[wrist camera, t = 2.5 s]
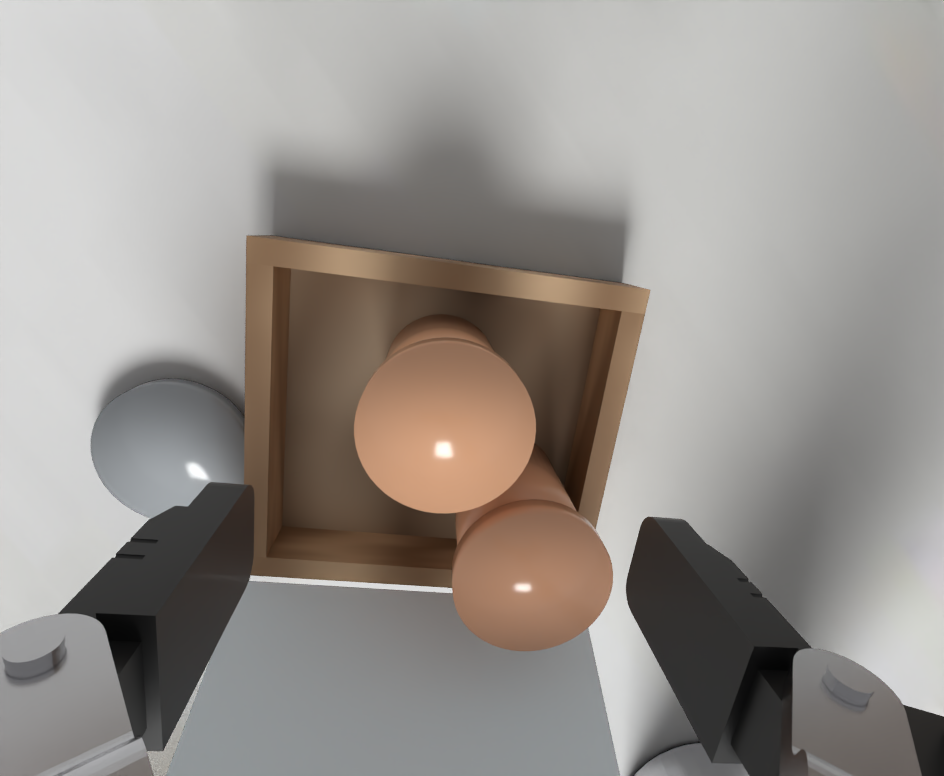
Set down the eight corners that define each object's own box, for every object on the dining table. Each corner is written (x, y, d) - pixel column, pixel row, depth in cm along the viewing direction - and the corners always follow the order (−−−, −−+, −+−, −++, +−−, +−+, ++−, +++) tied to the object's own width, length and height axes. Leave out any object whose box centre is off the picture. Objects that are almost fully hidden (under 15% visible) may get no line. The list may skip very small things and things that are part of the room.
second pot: (568, 434, 25) (628, 520, 18) (548, 535, 27) (595, 654, 19) (453, 422, 25) (463, 507, 17) (439, 527, 26) (443, 647, 19)
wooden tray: (622, 282, 24) (650, 290, 21) (563, 556, 28) (580, 595, 25) (271, 235, 22) (246, 235, 19) (265, 535, 26) (243, 574, 23)
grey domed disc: (257, 386, 24) (250, 393, 23) (255, 517, 26) (248, 528, 25) (99, 370, 23) (84, 376, 22) (108, 506, 25) (96, 517, 24)
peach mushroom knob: (511, 315, 23) (550, 355, 16) (493, 432, 25) (520, 519, 17) (384, 299, 23) (360, 333, 15) (374, 420, 24) (347, 506, 17)
